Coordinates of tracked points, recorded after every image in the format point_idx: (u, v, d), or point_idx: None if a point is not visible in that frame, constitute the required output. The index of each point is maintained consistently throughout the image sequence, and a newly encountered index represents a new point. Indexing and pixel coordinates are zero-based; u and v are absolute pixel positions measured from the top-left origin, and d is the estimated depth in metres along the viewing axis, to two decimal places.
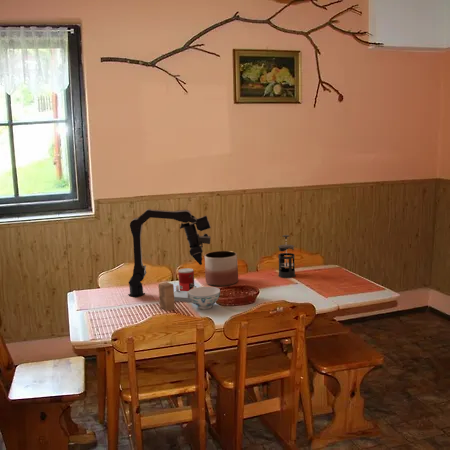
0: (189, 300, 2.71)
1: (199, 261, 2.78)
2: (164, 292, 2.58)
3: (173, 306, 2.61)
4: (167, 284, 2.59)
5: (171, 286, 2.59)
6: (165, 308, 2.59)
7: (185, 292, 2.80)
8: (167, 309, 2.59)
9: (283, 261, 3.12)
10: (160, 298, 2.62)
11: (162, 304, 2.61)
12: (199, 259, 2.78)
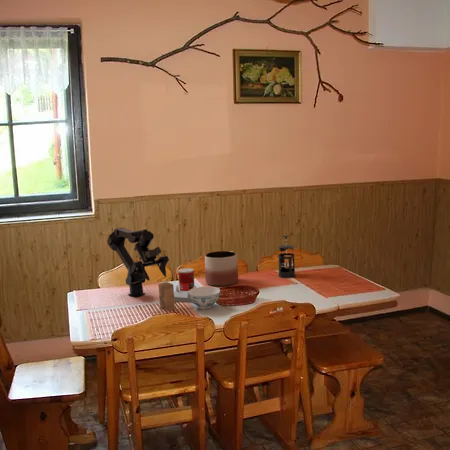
0: (189, 300, 2.71)
1: (145, 277, 2.63)
2: (164, 292, 2.58)
3: (173, 306, 2.61)
4: (167, 284, 2.59)
5: (171, 286, 2.59)
6: (165, 308, 2.59)
7: (185, 292, 2.80)
8: (167, 309, 2.59)
9: (283, 261, 3.12)
10: (160, 298, 2.62)
11: (162, 304, 2.61)
12: (144, 275, 2.63)
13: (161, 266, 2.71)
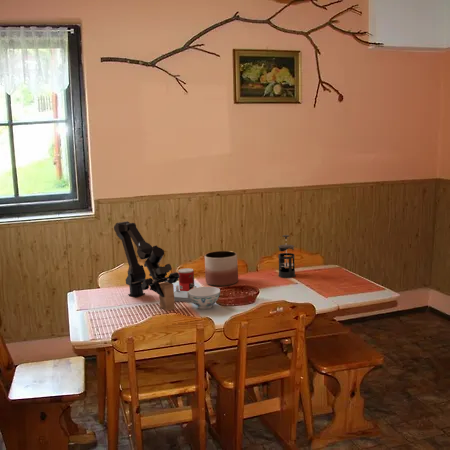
0: (189, 300, 2.71)
1: (160, 293, 2.59)
2: (164, 292, 2.58)
3: (173, 306, 2.61)
4: (167, 284, 2.59)
5: (171, 286, 2.59)
6: (165, 308, 2.59)
7: (185, 292, 2.80)
8: (167, 309, 2.59)
9: (283, 261, 3.12)
10: (160, 298, 2.62)
11: (162, 304, 2.61)
12: (159, 291, 2.59)
13: None
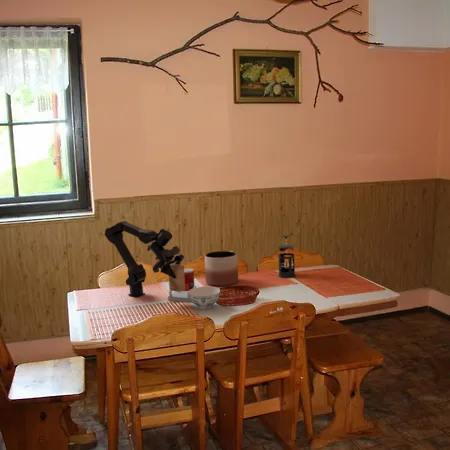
0: (189, 300, 2.71)
1: (171, 275, 2.65)
2: (176, 273, 2.64)
3: (184, 287, 2.68)
4: (178, 266, 2.66)
5: (182, 267, 2.66)
6: (177, 289, 2.66)
7: (185, 292, 2.80)
8: (179, 290, 2.66)
9: (283, 261, 3.12)
10: (170, 280, 2.67)
11: (173, 285, 2.67)
12: (170, 273, 2.65)
13: None
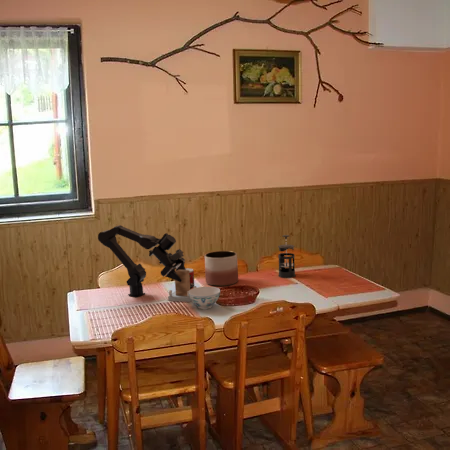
0: (189, 300, 2.71)
1: (177, 278, 2.70)
2: (184, 278, 2.73)
3: None
4: (184, 270, 2.75)
5: (188, 272, 2.75)
6: (184, 293, 2.74)
7: None
8: None
9: (283, 261, 3.12)
10: (177, 285, 2.74)
11: (180, 290, 2.74)
12: (176, 277, 2.70)
13: (180, 267, 2.80)
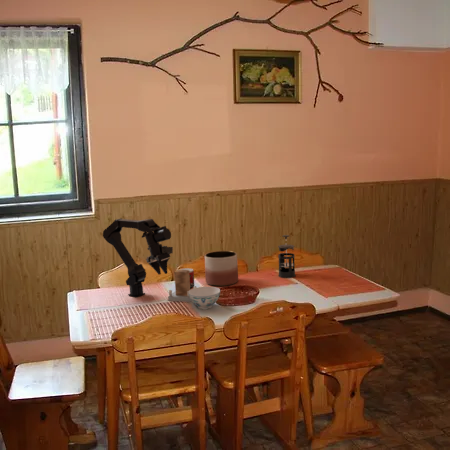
0: (189, 300, 2.71)
1: (165, 269, 2.70)
2: (184, 278, 2.73)
3: None
4: (184, 270, 2.75)
5: (188, 272, 2.75)
6: (184, 293, 2.74)
7: None
8: None
9: (283, 261, 3.12)
10: (177, 285, 2.74)
11: (180, 290, 2.74)
12: (165, 267, 2.69)
13: (156, 263, 2.79)
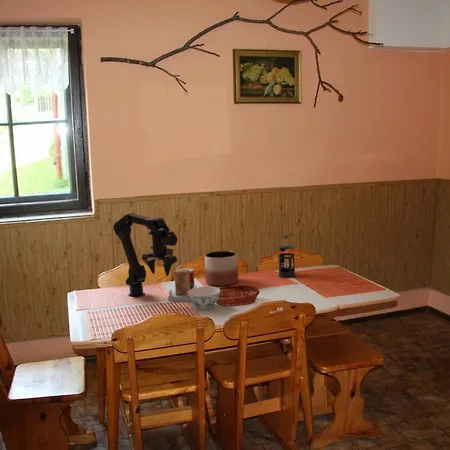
0: (189, 300, 2.71)
1: (168, 272, 2.69)
2: (184, 278, 2.73)
3: None
4: (184, 270, 2.75)
5: (188, 272, 2.75)
6: (184, 293, 2.74)
7: None
8: None
9: (283, 261, 3.12)
10: (177, 285, 2.74)
11: (180, 290, 2.74)
12: (168, 270, 2.69)
13: (152, 262, 2.75)
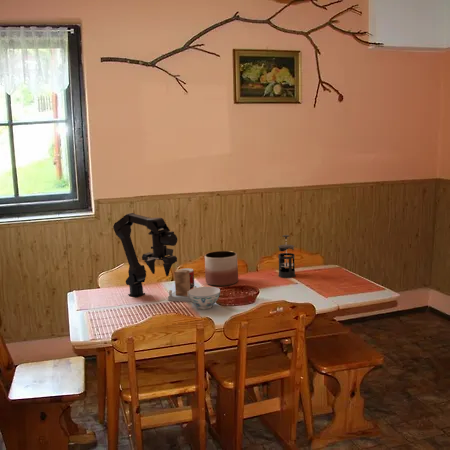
0: (189, 300, 2.71)
1: (168, 272, 2.69)
2: (184, 278, 2.73)
3: None
4: (184, 270, 2.75)
5: (188, 272, 2.75)
6: (184, 293, 2.74)
7: None
8: None
9: (283, 261, 3.12)
10: (177, 285, 2.74)
11: (180, 290, 2.74)
12: (168, 270, 2.69)
13: (152, 262, 2.75)
